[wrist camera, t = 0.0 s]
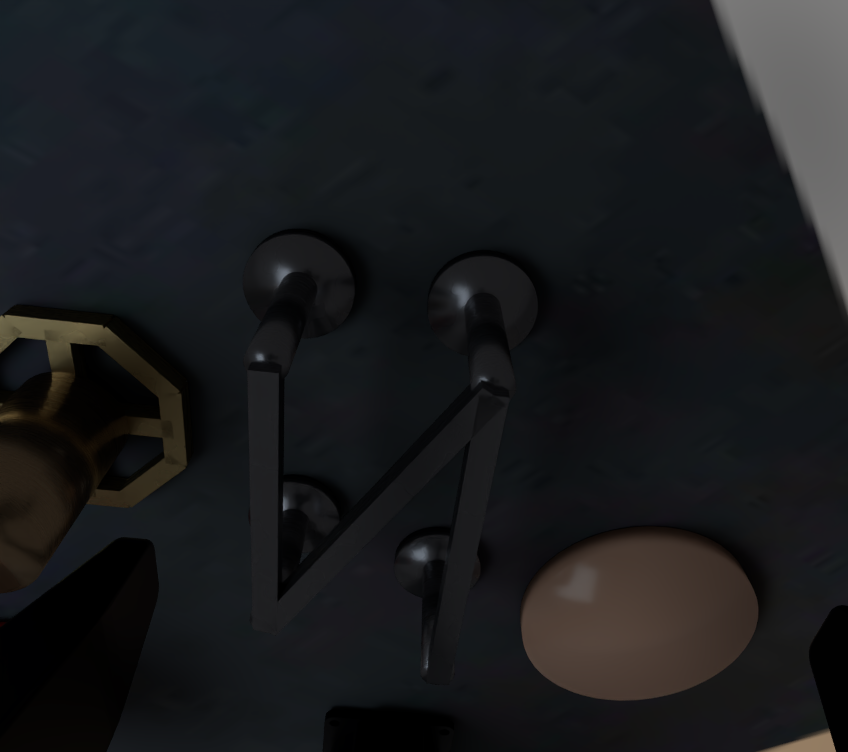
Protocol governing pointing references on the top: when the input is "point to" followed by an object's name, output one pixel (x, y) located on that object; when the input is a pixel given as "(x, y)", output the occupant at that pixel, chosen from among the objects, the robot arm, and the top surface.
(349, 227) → the top surface
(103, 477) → the octagonal handwheel knob
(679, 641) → the coaster
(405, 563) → the zigzag metal pull handle
